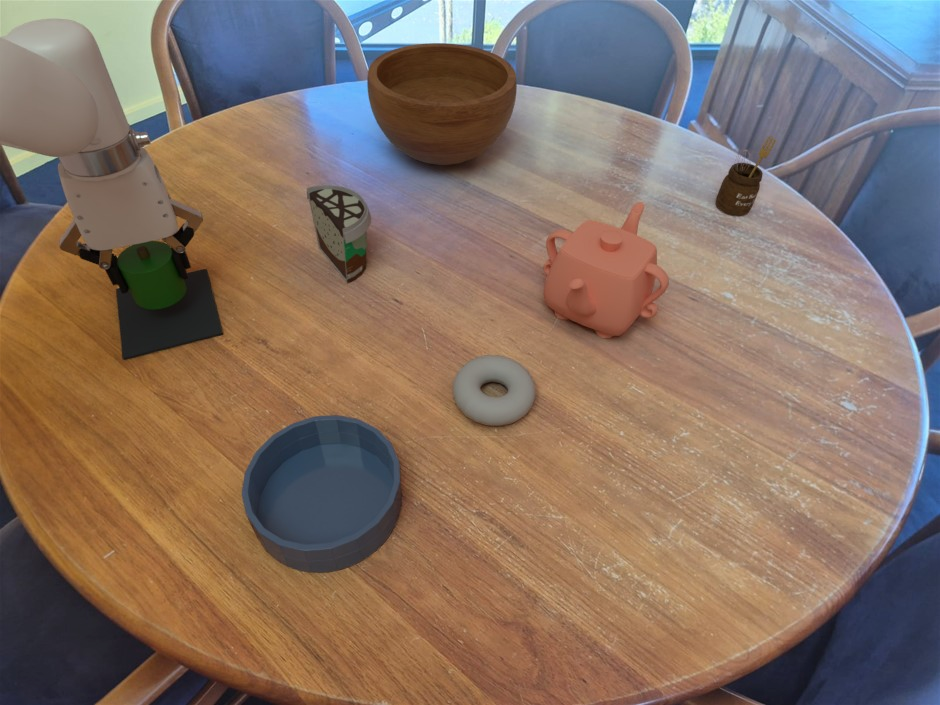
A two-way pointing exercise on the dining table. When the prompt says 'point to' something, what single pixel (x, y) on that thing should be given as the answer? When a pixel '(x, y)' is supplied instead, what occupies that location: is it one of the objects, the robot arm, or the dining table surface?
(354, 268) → the food container
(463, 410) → the donut
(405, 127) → the bowl
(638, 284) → the teapot
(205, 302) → the mat
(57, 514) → the dining table surface
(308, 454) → the serving bowl
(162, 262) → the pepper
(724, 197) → the utensil holder
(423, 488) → the dining table surface
